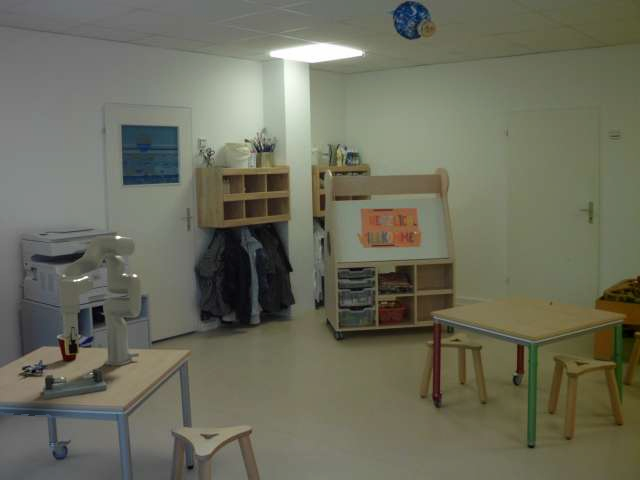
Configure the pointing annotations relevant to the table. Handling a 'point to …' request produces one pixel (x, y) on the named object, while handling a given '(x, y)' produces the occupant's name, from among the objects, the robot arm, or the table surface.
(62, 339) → the plastic cup
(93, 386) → the board
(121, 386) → the table surface
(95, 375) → the shaft
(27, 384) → the table surface
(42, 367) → the toy airplane
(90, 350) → the table surface
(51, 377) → the shaft
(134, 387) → the table surface
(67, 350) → the olive yellow block
